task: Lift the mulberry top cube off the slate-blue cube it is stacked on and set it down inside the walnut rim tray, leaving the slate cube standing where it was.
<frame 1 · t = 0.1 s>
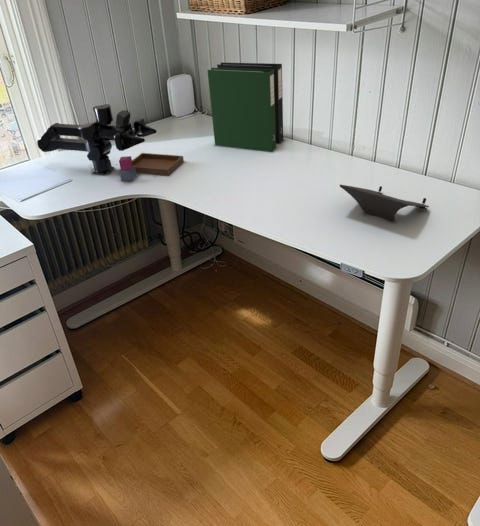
hand: (150, 135, 183), 17 cm above the table, tool horizontal, fingers open, 9 cm apart
mulberry block: (127, 168, 189), point 4 cm above the table, touching slate block
binder: (249, 143, 215), on the table
laptop tray: (386, 212, 157), on the table
slate block: (129, 178, 192), on the table, touching mulberry block
tray: (155, 166, 200), on the table
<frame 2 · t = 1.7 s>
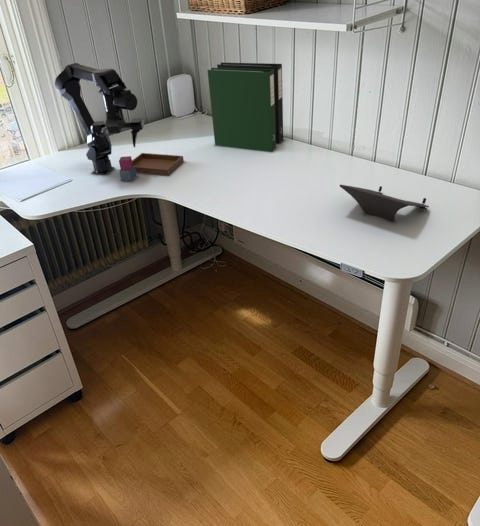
hand: (122, 147, 185), 13 cm above the table, tool pointing down, fingers open, 9 cm apart
nothing on the table moved.
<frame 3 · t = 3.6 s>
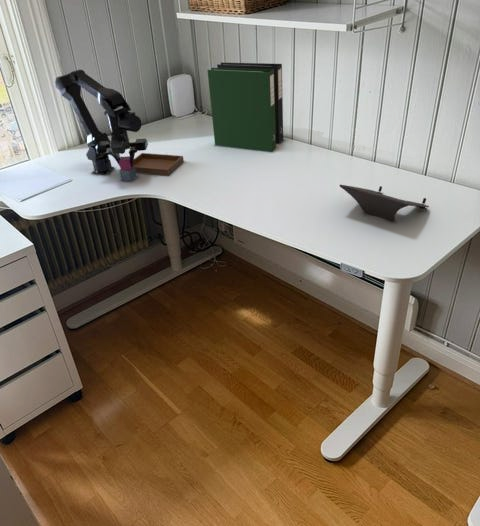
hand: (126, 166, 189), 5 cm above the table, tool pointing down, fingers closed on mulberry block, 4 cm apart
mulberry block: (127, 168, 189), point 4 cm above the table, touching gripper, slate block
everything else where it was.
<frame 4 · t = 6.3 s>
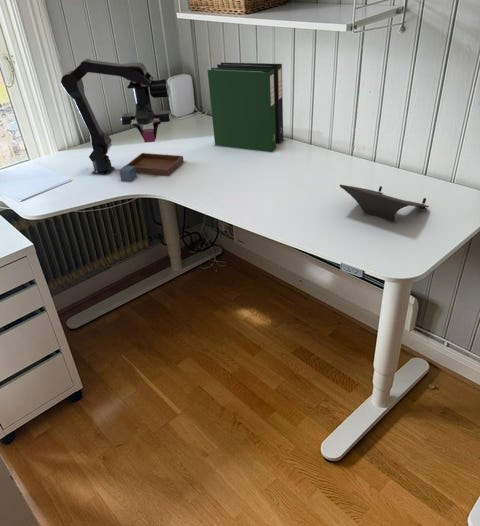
hand: (150, 139, 192), 12 cm above the table, tool pointing down, fingers closed on mulberry block, 4 cm apart
mulberry block: (150, 140, 192), point 12 cm above the table, touching gripper
slate block: (129, 178, 192), on the table
everything else where it was.
when the fingers open (1 cm above the table, at t = 9.3 s): mulberry block stays where it is, resting on tray.
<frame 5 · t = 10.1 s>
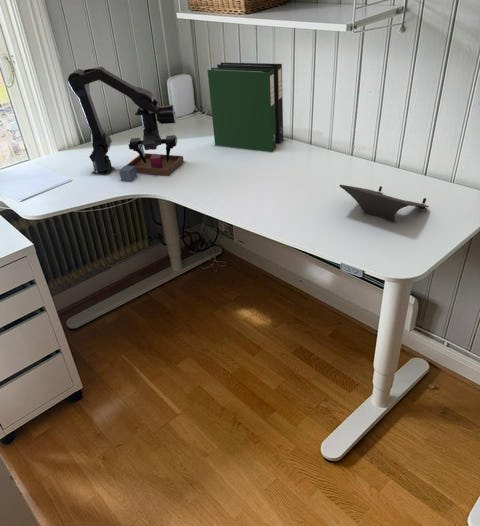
hand: (156, 162, 198), 2 cm above the table, tool pointing down, fingers open, 9 cm apart
mulberry block: (157, 165, 199), point 1 cm above the table, touching tray
everything else where it was.
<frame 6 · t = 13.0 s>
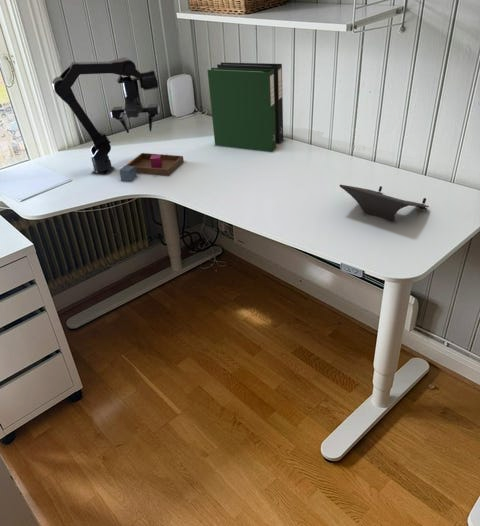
hand: (139, 131, 198), 13 cm above the table, tool pointing down, fingers open, 9 cm apart
nothing on the table moved.
at the end: mulberry block inside the target area in the tray (1.0 cm from its centre), point 0.6 cm above the tray's base; slate block moved 0.0 cm from its start; the gripper is holding nothing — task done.
